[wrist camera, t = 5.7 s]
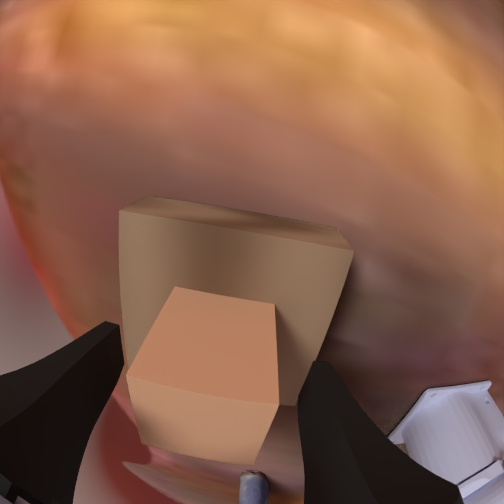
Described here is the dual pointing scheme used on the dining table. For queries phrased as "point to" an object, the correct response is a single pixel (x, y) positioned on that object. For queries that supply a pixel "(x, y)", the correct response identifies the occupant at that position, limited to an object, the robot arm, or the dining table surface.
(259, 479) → the flask
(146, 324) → the base
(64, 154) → the dining table surface
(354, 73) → the dining table surface
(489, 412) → the robot arm
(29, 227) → the dining table surface
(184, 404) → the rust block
